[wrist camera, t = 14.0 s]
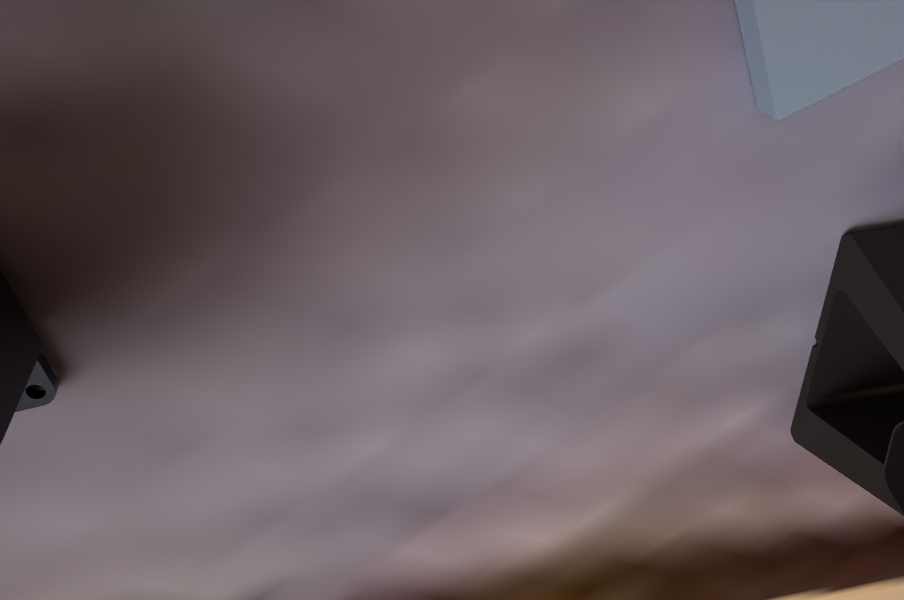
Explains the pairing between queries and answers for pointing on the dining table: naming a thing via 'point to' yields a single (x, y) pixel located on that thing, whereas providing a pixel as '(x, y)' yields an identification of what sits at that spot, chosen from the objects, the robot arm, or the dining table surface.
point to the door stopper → (858, 362)
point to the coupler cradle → (816, 47)
